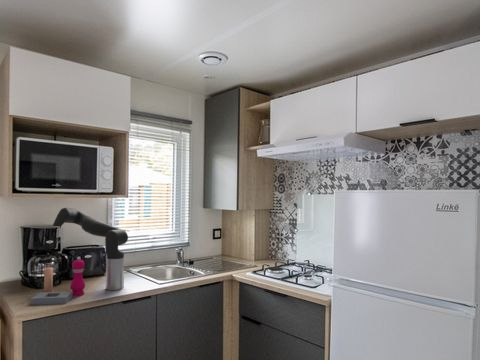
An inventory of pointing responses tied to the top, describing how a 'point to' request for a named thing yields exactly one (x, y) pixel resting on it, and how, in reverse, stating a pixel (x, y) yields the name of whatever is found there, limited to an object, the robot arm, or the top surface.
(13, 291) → the top surface
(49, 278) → the dowel
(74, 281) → the pepper mill
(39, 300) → the socket block
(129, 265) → the top surface
